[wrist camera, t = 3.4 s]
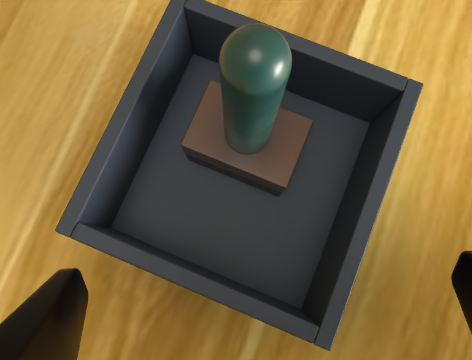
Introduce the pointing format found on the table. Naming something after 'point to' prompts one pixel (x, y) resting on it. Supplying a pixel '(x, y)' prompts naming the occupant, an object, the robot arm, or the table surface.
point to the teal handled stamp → (249, 113)
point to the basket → (239, 193)
